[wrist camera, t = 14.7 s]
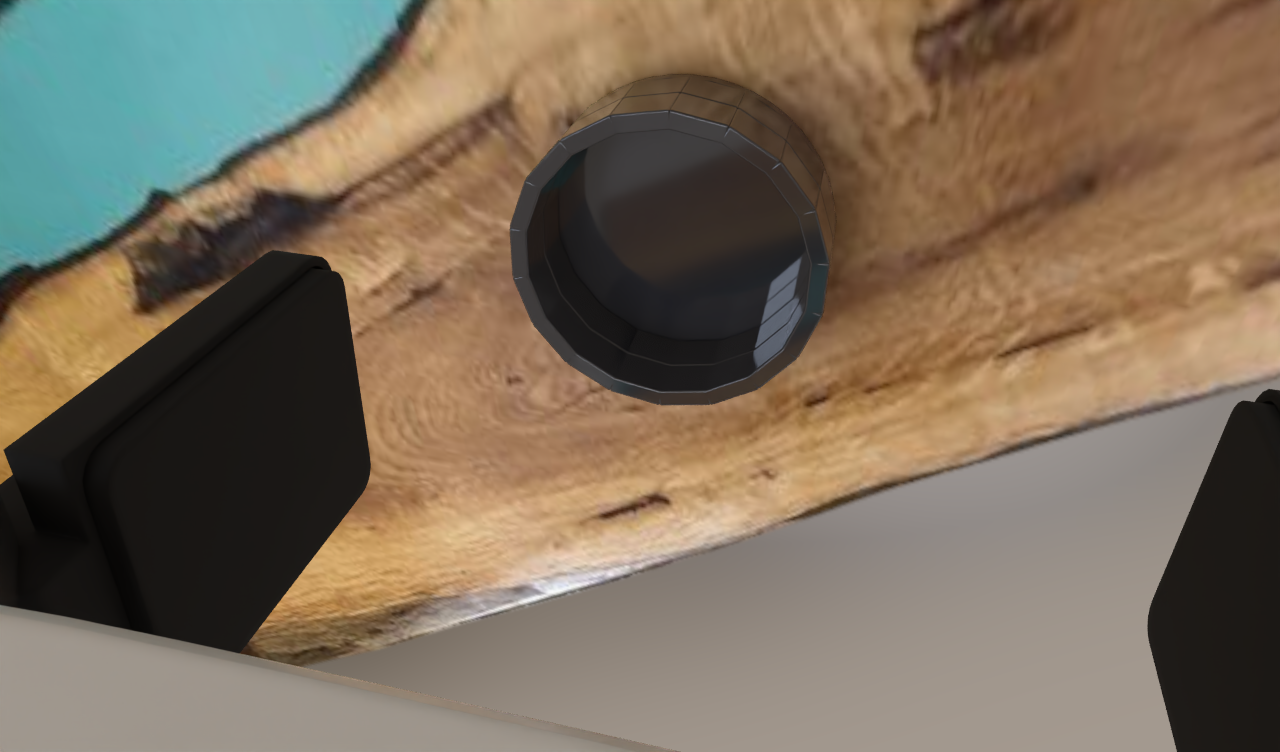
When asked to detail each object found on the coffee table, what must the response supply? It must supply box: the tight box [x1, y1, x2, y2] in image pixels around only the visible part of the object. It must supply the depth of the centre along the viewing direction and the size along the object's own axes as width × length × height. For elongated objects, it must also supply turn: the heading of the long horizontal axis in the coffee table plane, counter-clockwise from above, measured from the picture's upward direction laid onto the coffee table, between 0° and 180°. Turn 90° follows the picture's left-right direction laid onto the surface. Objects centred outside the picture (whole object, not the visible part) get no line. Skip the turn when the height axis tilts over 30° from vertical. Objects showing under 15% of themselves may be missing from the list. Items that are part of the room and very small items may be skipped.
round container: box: [510, 74, 836, 405], centre depth 33 cm, size 10×10×4 cm
